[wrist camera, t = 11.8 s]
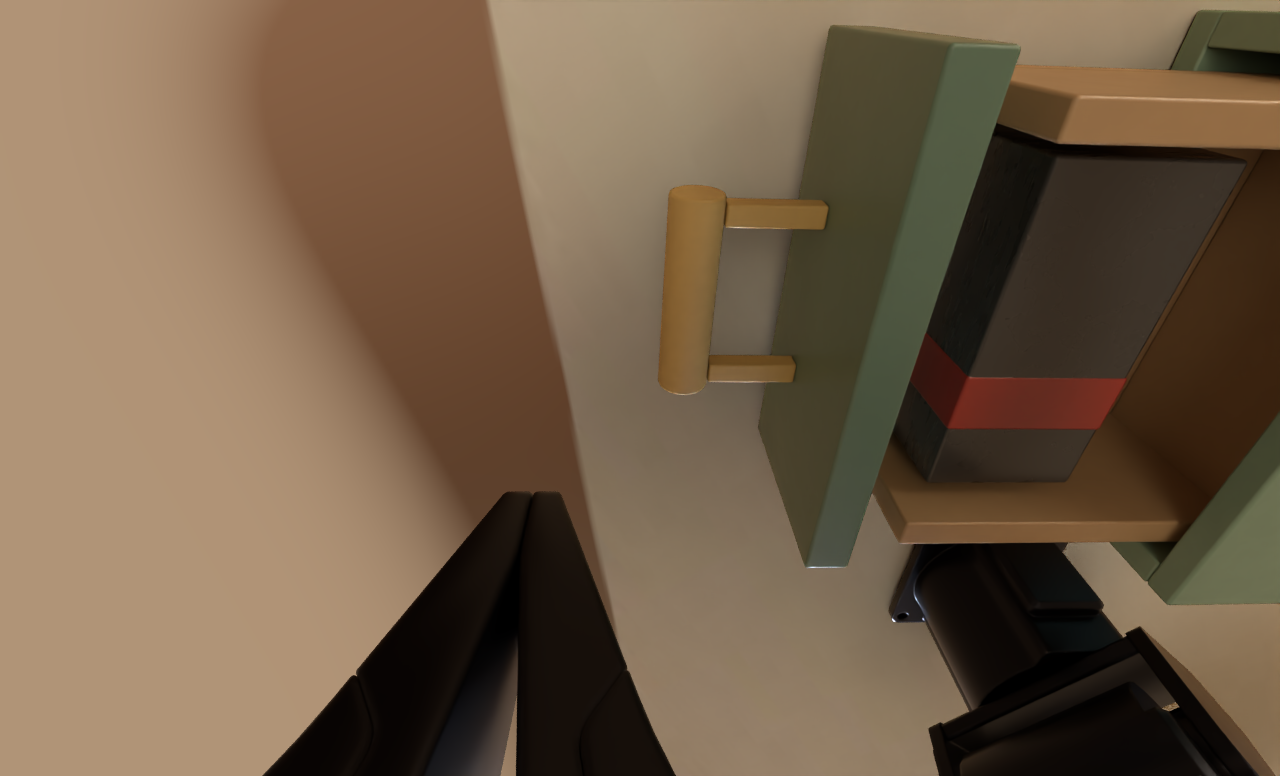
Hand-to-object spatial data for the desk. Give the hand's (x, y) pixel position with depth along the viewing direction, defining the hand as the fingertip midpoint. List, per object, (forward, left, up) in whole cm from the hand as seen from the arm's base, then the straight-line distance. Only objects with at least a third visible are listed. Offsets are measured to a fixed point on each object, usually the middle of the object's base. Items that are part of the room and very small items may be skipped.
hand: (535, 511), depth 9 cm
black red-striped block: (0, -12, -9) cm, 15 cm away
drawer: (0, -11, -10) cm, 15 cm away
